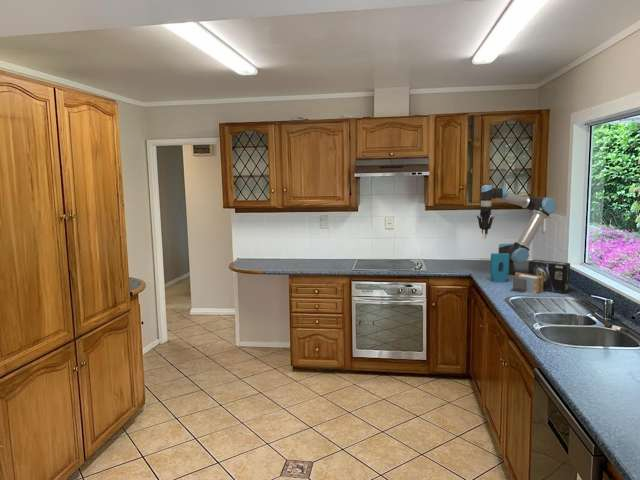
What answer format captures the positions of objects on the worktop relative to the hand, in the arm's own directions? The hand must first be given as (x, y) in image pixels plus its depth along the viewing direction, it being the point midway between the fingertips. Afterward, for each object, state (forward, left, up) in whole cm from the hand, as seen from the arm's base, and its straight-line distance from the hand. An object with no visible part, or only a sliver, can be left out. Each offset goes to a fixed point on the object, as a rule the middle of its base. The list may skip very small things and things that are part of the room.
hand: (484, 238), depth 341 cm
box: (+4, +49, -30) cm, 57 cm away
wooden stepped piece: (+16, +40, -29) cm, 52 cm away
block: (+4, +15, -30) cm, 33 cm away
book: (+16, +42, -30) cm, 54 cm away
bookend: (+22, +38, -29) cm, 53 cm away
